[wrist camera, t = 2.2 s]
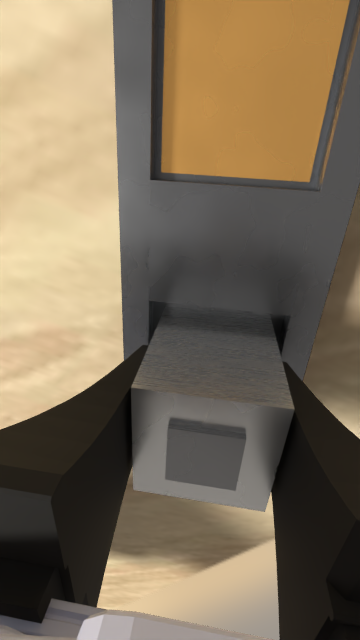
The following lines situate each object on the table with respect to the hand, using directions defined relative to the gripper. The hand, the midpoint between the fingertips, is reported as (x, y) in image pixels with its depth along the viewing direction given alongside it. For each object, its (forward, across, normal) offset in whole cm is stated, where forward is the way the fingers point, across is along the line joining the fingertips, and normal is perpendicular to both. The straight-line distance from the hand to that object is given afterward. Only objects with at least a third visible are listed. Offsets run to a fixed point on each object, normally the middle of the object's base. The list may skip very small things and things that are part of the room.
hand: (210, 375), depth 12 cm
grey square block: (+1, 0, 0) cm, 1 cm away
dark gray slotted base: (+2, 0, -4) cm, 5 cm away
